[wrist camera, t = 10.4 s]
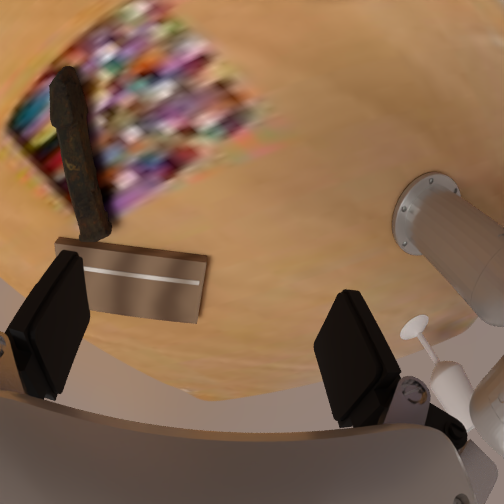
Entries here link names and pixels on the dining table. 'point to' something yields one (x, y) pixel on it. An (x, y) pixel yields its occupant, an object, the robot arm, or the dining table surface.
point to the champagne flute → (444, 376)
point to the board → (140, 280)
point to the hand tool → (78, 155)
